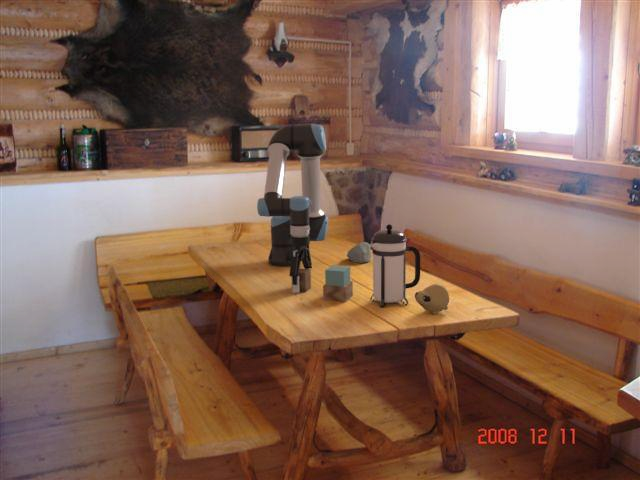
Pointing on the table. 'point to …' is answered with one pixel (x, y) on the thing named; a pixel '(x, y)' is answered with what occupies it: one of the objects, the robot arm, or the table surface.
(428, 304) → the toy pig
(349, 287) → the tower base
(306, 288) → the walnut block
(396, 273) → the coffee press
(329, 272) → the tower top
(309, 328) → the table surface
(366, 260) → the decorative stone
